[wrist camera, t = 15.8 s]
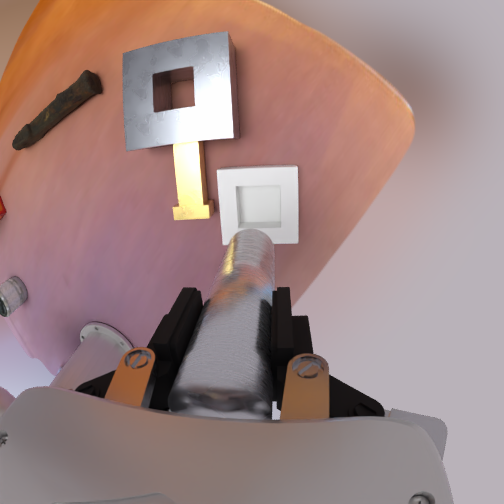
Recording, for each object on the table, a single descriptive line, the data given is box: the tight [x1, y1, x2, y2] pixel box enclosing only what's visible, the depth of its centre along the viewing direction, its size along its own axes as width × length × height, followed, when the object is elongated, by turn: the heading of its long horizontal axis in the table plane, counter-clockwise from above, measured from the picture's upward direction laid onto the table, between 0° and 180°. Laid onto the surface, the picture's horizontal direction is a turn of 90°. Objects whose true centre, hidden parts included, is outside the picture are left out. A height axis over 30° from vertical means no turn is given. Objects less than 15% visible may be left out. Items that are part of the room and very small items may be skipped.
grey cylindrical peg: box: [168, 229, 275, 420], centre depth 13 cm, size 3×3×13 cm
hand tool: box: [12, 70, 102, 150], centre depth 29 cm, size 19×4×5 cm, turn 109°
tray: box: [217, 165, 298, 245], centre depth 33 cm, size 9×9×3 cm
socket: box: [123, 31, 240, 151], centre depth 27 cm, size 12×12×6 cm
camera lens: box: [0, 277, 27, 317], centre depth 41 cm, size 6×6×8 cm
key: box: [173, 141, 214, 220], centre depth 32 cm, size 13×4×3 cm, turn 3°
